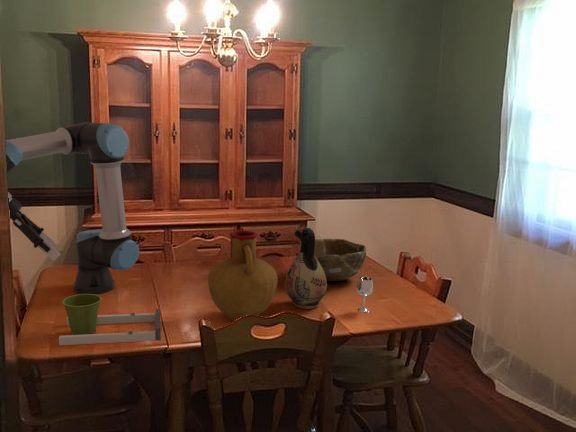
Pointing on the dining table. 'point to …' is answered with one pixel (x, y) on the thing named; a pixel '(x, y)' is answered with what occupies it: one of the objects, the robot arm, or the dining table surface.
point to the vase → (242, 279)
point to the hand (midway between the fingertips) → (56, 252)
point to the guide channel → (117, 337)
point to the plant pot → (82, 313)
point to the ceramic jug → (306, 274)
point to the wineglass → (364, 290)
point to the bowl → (339, 258)
